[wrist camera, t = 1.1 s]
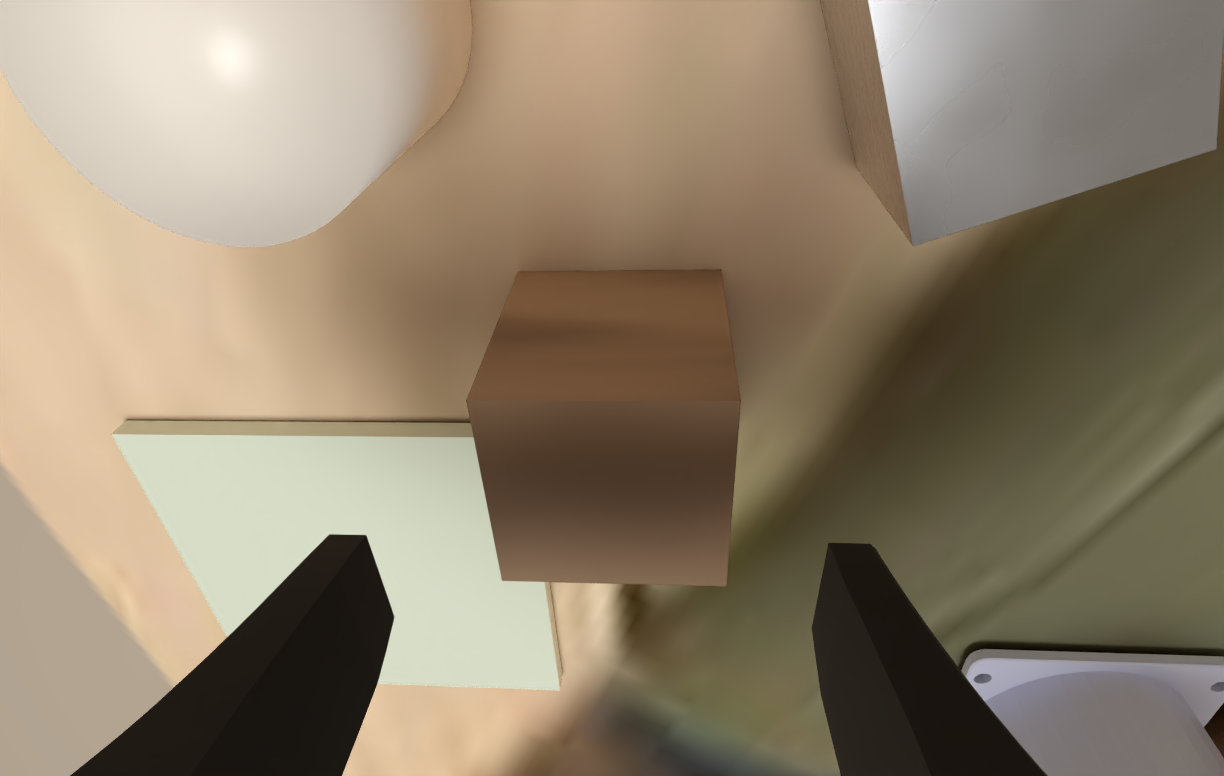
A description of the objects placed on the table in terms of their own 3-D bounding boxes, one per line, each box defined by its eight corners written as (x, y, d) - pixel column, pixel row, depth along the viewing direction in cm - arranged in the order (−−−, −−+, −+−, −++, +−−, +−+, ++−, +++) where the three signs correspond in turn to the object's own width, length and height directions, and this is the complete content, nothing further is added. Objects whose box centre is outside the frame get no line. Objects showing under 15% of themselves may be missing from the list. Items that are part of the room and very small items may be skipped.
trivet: (562, 674, 24) (560, 690, 24) (259, 663, 25) (251, 678, 25) (527, 423, 18) (523, 438, 18) (125, 420, 19) (111, 434, 18)
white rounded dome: (490, 146, 14) (417, 245, 10) (253, 152, 14) (89, 249, 10) (447, -169, 11) (319, -213, 7) (154, -152, 12) (-127, -184, 8)
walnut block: (712, 430, 18) (726, 586, 14) (538, 428, 18) (501, 580, 14) (720, 268, 15) (740, 401, 11) (518, 270, 16) (466, 400, 12)
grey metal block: (1076, 86, 13) (1216, 149, 10) (855, 165, 14) (912, 246, 11) (1064, -169, 11) (1237, -202, 8) (806, -54, 12) (860, -40, 9)
